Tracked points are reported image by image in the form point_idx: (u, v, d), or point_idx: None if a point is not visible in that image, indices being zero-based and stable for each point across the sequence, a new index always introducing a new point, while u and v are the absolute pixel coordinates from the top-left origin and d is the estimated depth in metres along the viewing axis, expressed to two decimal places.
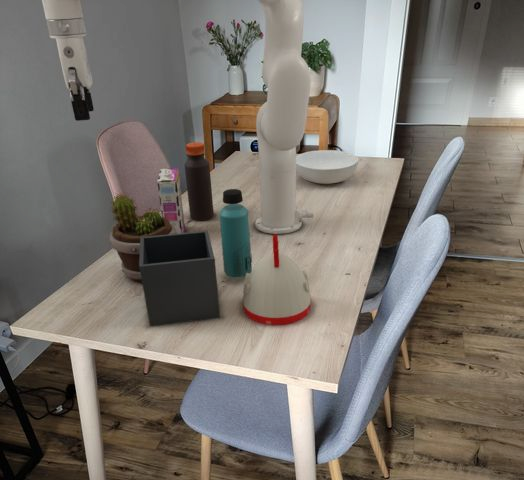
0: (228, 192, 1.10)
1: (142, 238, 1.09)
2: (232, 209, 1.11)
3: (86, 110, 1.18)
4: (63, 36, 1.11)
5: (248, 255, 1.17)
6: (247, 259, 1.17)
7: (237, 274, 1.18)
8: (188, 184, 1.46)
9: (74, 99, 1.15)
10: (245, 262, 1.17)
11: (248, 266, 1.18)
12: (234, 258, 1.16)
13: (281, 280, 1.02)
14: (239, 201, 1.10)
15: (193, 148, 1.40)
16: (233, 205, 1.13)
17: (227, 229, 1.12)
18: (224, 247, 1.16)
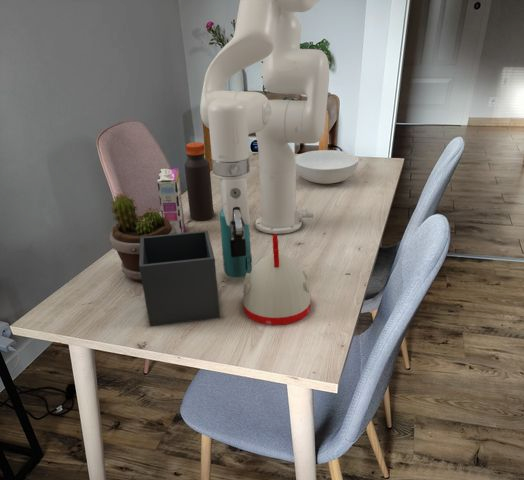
0: None
1: (142, 238, 1.09)
2: None
3: (243, 247, 1.14)
4: (231, 177, 1.05)
5: (248, 255, 1.17)
6: (247, 259, 1.17)
7: (237, 274, 1.18)
8: (188, 184, 1.46)
9: (235, 240, 1.11)
10: (245, 262, 1.17)
11: (248, 266, 1.18)
12: (233, 258, 1.16)
13: (281, 280, 1.02)
14: None
15: (193, 148, 1.40)
16: None
17: (227, 229, 1.12)
18: (224, 247, 1.16)
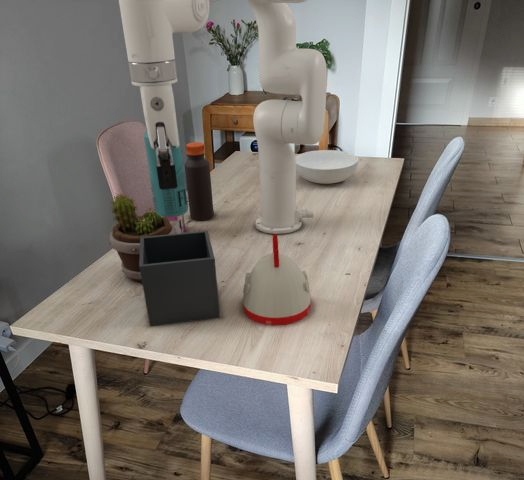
0: None
1: (142, 238, 1.09)
2: None
3: (174, 177, 0.94)
4: (151, 83, 0.85)
5: (181, 189, 0.97)
6: (180, 193, 0.97)
7: (169, 212, 0.98)
8: (188, 184, 1.46)
9: (161, 166, 0.91)
10: (178, 197, 0.97)
11: (182, 203, 0.98)
12: (163, 192, 0.96)
13: (281, 280, 1.02)
14: None
15: (193, 148, 1.40)
16: None
17: (152, 153, 0.92)
18: (152, 178, 0.96)
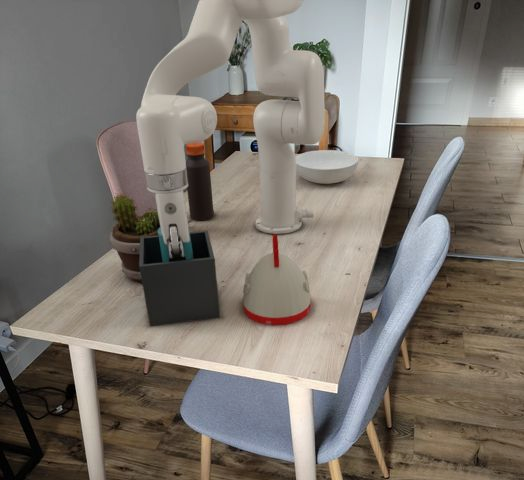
0: None
1: (142, 238, 1.09)
2: None
3: None
4: (165, 191, 0.95)
5: None
6: None
7: None
8: (188, 184, 1.46)
9: (173, 258, 1.00)
10: None
11: None
12: None
13: (281, 280, 1.02)
14: None
15: (193, 148, 1.40)
16: None
17: (166, 248, 1.03)
18: None
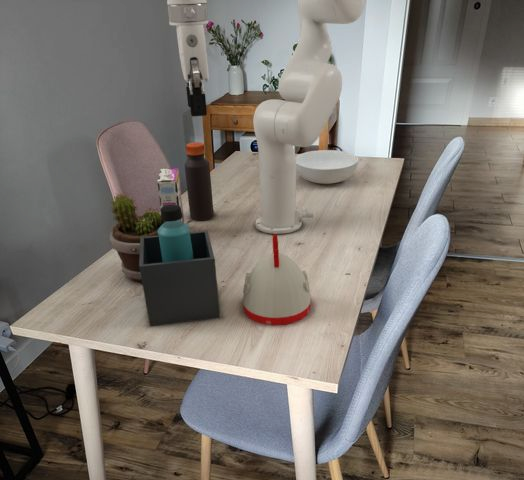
0: (166, 208, 1.00)
1: (142, 238, 1.09)
2: (171, 227, 1.02)
3: (204, 105, 1.07)
4: (187, 23, 1.00)
5: None
6: None
7: None
8: (188, 184, 1.46)
9: (193, 93, 1.05)
10: None
11: None
12: None
13: (281, 280, 1.02)
14: (178, 218, 1.01)
15: (193, 148, 1.40)
16: (173, 222, 1.04)
17: (166, 248, 1.03)
18: None
